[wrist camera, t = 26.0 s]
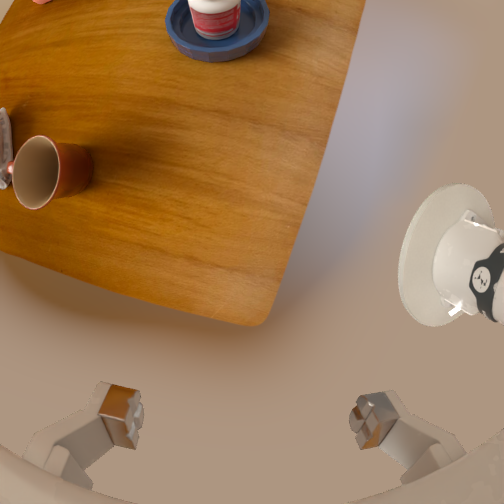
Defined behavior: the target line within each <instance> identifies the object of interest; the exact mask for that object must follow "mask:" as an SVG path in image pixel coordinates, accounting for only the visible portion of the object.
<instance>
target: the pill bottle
mask: <svg viewBox="0 0 504 504" xmlns="http://www.w3.org/2000/svg"><path fill="white" fill-rule="evenodd" d="M188 4H189V7H190V11H191V15H192V19H193V23H194V27H195V30H196V32H197V33H198V34H199V35H200V36H202V37H203V38H205V39H210V40H220V39H224V38H227V37H229V36H231V35H232V34H234V33H235V32H236V30H237V29H238V27H239V21H240V7H241V0H188Z"/></svg>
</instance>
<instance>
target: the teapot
mask: <svg viewBox="0 0 504 504" xmlns="http://www.w3.org/2000/svg"><path fill="white" fill-rule="evenodd" d="M33 1H34V2H36V3H39V4H44V3H46V2H49V1H51V0H33Z"/></svg>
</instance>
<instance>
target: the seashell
mask: <svg viewBox="0 0 504 504" xmlns="http://www.w3.org/2000/svg"><path fill="white" fill-rule="evenodd" d="M11 136H12V134H11V124H10V120H9V117H8V114H7V112H6V110H5V108H1V109H0V189H2V190H4V189H5V188H6V187H7V186H8V185H9V183H10V182H11V180H12V174H9V173H7V170H6V169H7V163H8V162H9V161H13V149H12V137H11Z"/></svg>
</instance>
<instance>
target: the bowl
mask: <svg viewBox="0 0 504 504" xmlns="http://www.w3.org/2000/svg"><path fill="white" fill-rule="evenodd" d="M269 13H270V12H269V9H268V6H267V4H266V1H265V0H241V7H240V21H239V27H238V29H237V30H236V32H235V33H234V34H232V35H231V36H229V37H227V38H224V39H220V40H210V39H205V38H203V37H202V36H200V35H199V34H198V33H197V32H196V30H195V27H194V23H193V19H192V15H191V11H190V7H189V4H188V0H175V1H174V2H173V3H172V5H171V6H170V7H169V9H168V12H167V15H166V18H165V23H166V28H167V32H168V35H169V37H170V39H171V41H172V43H173V44H174V45H175V47H176V48H177V49H178V50H179V51H180V52H181V53H183V54H184V55H186V56H188V57H190V58H192V59H195V60H201V61H206V62H220V61H229V60H232V59H235V58H238V57H241V56H244V55H246V54H247V53H249V52H250V51H251V50H253V49H254V48H256V47H257V46H258V45H259V43H260V42H261V40H262V39H263V37H264V36H265V33H266V30H267V26H268V21H269Z"/></svg>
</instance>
